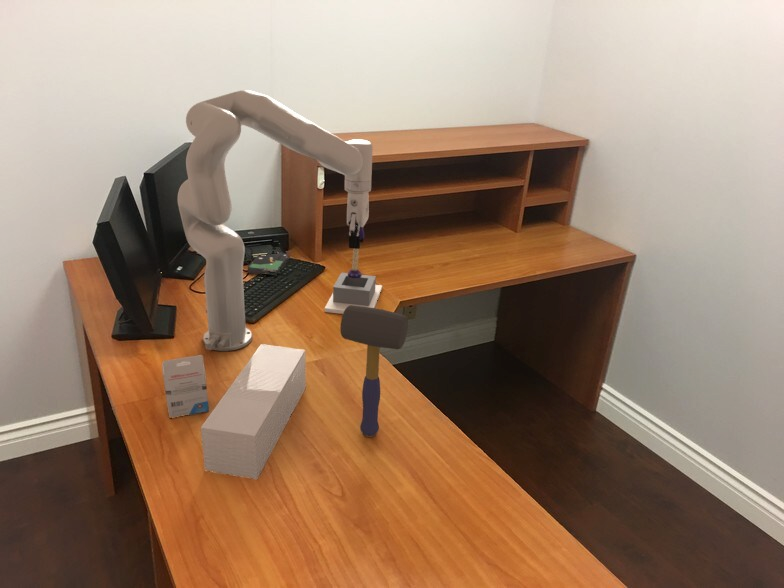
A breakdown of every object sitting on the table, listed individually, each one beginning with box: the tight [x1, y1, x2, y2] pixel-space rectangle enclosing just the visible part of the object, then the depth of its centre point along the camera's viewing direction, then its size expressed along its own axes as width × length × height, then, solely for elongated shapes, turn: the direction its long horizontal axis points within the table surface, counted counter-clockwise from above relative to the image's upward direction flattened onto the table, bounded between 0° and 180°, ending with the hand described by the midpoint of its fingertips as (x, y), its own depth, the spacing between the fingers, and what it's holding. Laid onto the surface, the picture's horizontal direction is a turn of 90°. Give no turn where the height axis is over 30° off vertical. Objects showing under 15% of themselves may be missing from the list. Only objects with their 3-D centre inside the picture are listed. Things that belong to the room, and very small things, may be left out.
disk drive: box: [247, 252, 291, 275], centre depth 212 cm, size 10×3×15 cm
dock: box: [324, 272, 383, 315], centre depth 191 cm, size 20×14×6 cm
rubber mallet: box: [339, 305, 409, 438], centre depth 128 cm, size 12×8×30 cm, turn 73°
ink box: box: [161, 354, 210, 419], centre depth 135 cm, size 8×5×15 cm, turn 114°
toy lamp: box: [347, 223, 365, 278], centre depth 185 cm, size 5×5×17 cm
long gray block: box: [200, 343, 307, 480], centre depth 133 cm, size 32×11×11 cm, turn 171°
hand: (356, 244), depth 184 cm, fingers closed on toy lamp, 4 cm apart
